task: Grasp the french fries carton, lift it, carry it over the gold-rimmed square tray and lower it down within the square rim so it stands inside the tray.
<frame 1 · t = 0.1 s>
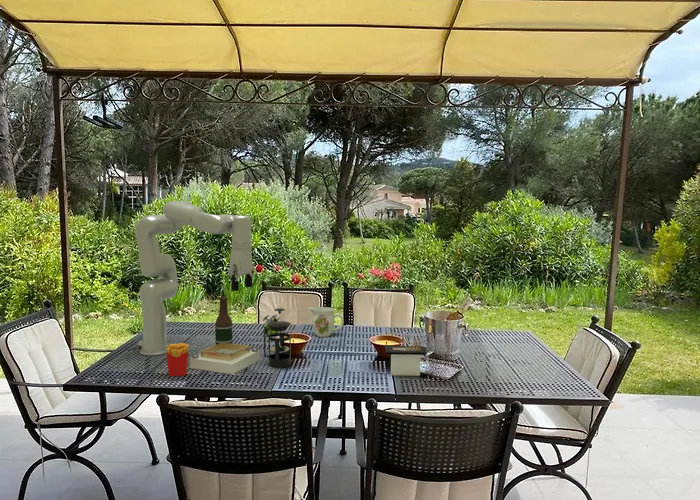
hand: (242, 288, 210), 31 cm above the table, tool pointing down, fingers open, 9 cm apart
french press: (278, 364, 214), on the table
passion flower: (273, 333, 263), on the table
french fries: (178, 375, 200), on the table
beer bottle: (224, 350, 233), on the table
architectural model: (405, 375, 204), on the table
gold-rimmed square tray: (225, 363, 214), on the table
pitcher: (325, 335, 260), on the table
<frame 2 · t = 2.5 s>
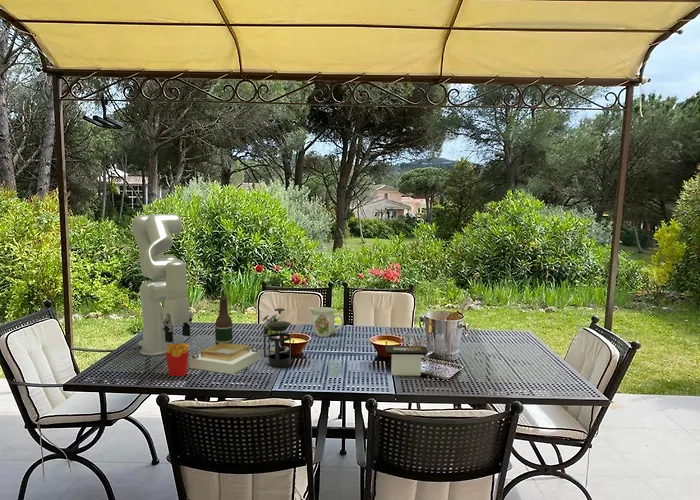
hand: (178, 338, 198), 14 cm above the table, tool pointing down, fingers open, 9 cm apart
nothing on the table moved.
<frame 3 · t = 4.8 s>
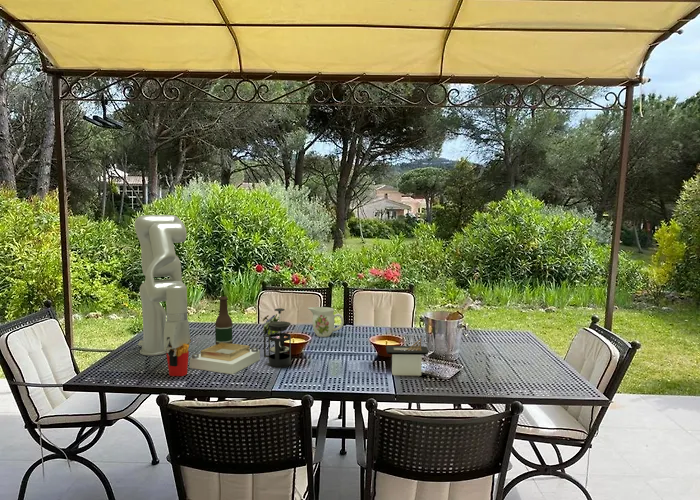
hand: (178, 363, 200), 4 cm above the table, tool pointing down, fingers closed on french fries, 4 cm apart
french fries: (178, 374, 200), on the table, touching gripper
everything else where it was.
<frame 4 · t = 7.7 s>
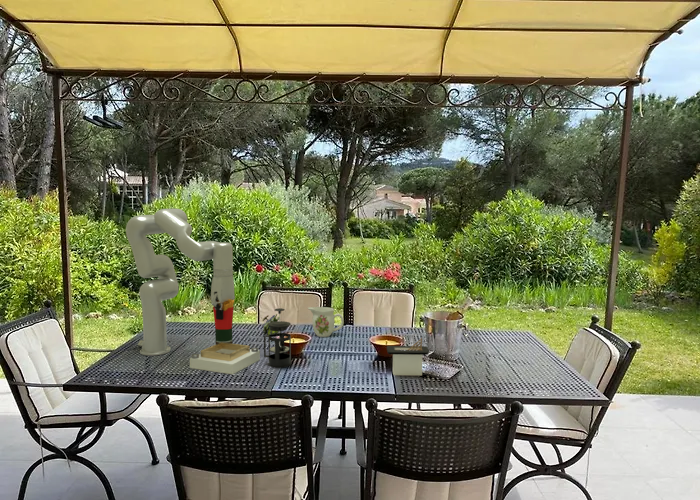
hand: (223, 317, 211), 19 cm above the table, tool pointing down, fingers closed on french fries, 4 cm apart
french fries: (224, 328, 212), point 15 cm above the table, touching gripper
everything else where it was.
when the fingers open (8 cm above the table, at t = 10.7 s): french fries drops 3 cm, resting on gold-rimmed square tray.
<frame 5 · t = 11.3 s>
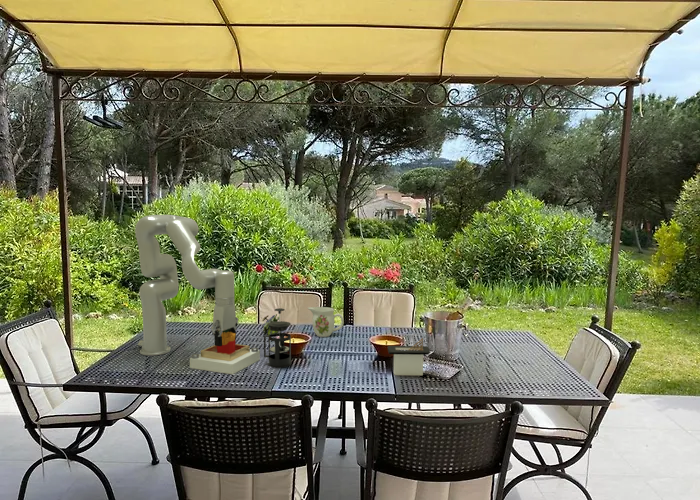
hand: (225, 342, 213), 9 cm above the table, tool pointing down, fingers open, 9 cm apart
french fries: (227, 361, 215), point 1 cm above the table, touching gold-rimmed square tray
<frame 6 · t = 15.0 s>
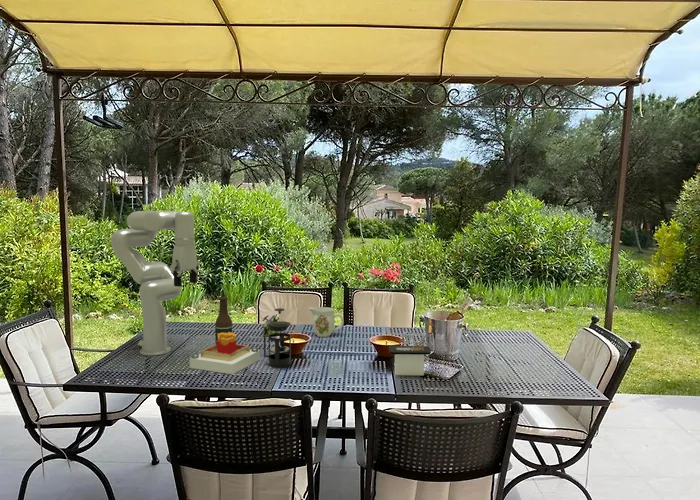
hand: (185, 284, 213), 32 cm above the table, tool pointing down, fingers open, 9 cm apart
at the end: french fries inside the target area on the gold-rimmed square tray (1.1 cm from its centre), point 0.4 cm above the gold-rimmed square tray's base; french fries tilted 0°; the gripper is holding nothing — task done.
